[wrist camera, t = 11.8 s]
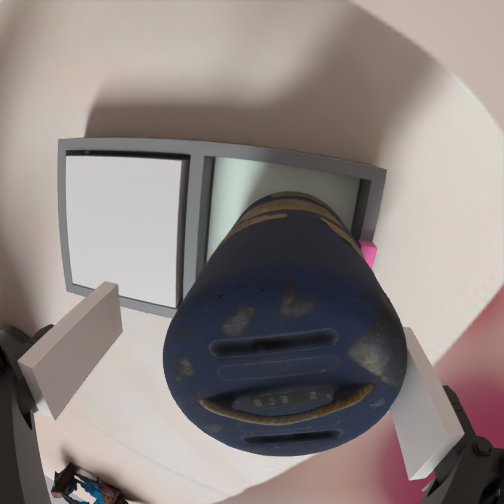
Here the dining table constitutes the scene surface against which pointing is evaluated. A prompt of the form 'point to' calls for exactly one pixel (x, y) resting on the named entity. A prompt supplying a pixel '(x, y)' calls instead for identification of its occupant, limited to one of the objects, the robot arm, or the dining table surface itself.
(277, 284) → the canister
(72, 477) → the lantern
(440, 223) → the dining table surface
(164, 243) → the grey divided tray
